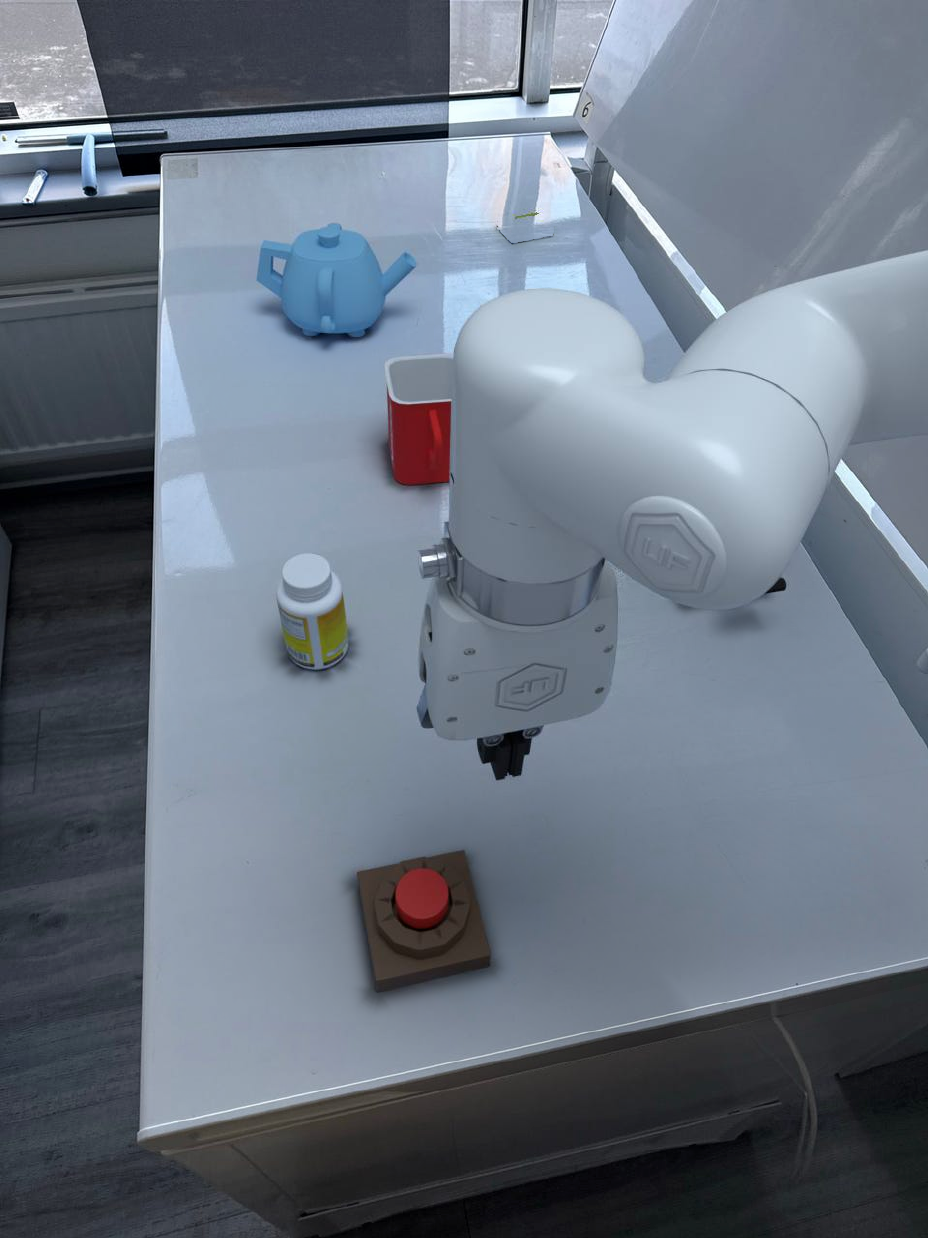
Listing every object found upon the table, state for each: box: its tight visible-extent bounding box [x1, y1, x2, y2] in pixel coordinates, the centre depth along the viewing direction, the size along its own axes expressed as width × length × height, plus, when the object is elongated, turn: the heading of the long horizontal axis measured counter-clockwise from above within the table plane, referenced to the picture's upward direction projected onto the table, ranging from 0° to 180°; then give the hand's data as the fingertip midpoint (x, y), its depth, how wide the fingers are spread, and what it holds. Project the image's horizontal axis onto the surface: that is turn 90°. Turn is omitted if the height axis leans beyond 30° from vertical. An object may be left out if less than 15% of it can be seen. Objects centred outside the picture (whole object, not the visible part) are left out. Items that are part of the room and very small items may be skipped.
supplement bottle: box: [275, 553, 349, 670], centre depth 77 cm, size 6×6×10 cm
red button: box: [395, 868, 449, 929], centre depth 61 cm, size 4×4×2 cm
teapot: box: [256, 222, 418, 338], centre depth 112 cm, size 20×17×12 cm
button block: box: [356, 849, 492, 993], centre depth 63 cm, size 8×8×4 cm
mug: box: [383, 353, 454, 486], centre depth 93 cm, size 12×8×11 cm
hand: (501, 758), depth 57 cm, fingers closed
